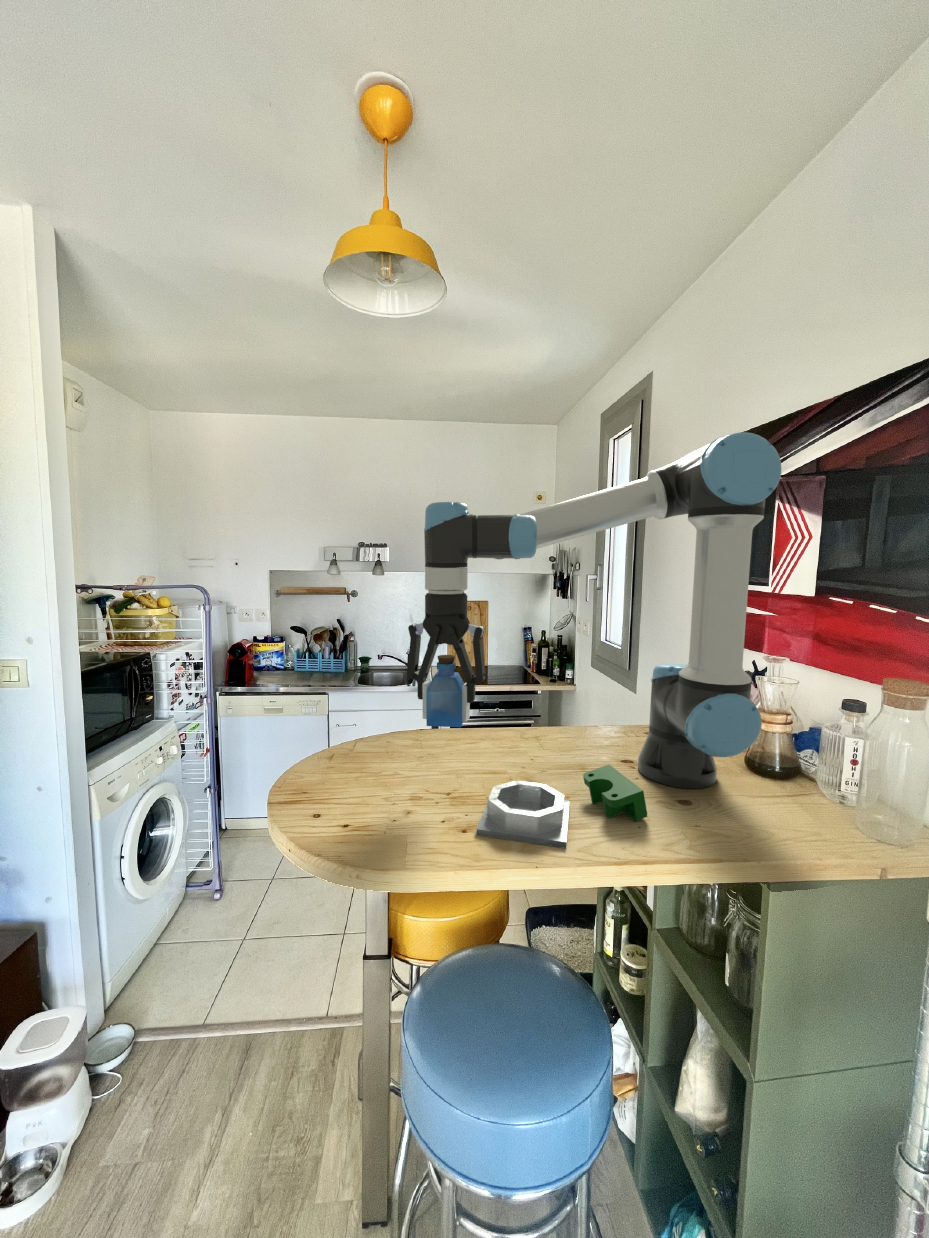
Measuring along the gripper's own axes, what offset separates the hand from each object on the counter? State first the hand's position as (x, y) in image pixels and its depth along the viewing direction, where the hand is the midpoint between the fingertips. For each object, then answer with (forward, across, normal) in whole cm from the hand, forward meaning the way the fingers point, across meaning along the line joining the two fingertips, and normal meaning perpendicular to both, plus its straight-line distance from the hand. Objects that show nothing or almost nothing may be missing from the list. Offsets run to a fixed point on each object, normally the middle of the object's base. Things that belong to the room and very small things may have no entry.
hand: (446, 717), depth 94 cm
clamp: (+16, -30, -3) cm, 34 cm away
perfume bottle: (+1, 0, 0) cm, 1 cm away
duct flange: (+15, -15, +5) cm, 22 cm away
